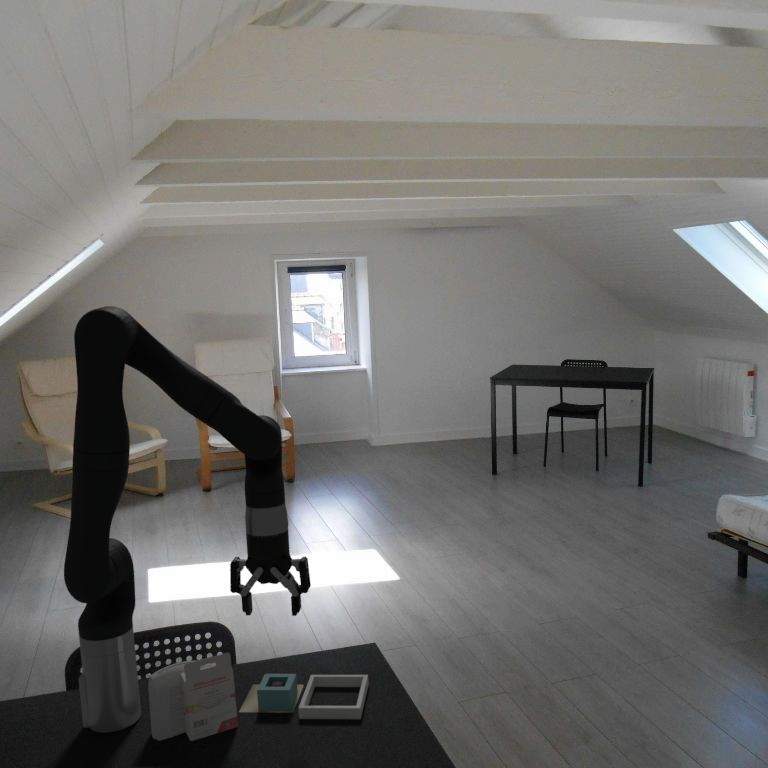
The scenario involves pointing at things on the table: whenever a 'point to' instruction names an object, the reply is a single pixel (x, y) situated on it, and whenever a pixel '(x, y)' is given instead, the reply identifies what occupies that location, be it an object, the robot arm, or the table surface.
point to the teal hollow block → (277, 692)
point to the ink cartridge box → (208, 696)
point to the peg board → (252, 700)
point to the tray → (333, 711)
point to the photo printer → (166, 702)
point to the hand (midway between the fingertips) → (272, 614)
